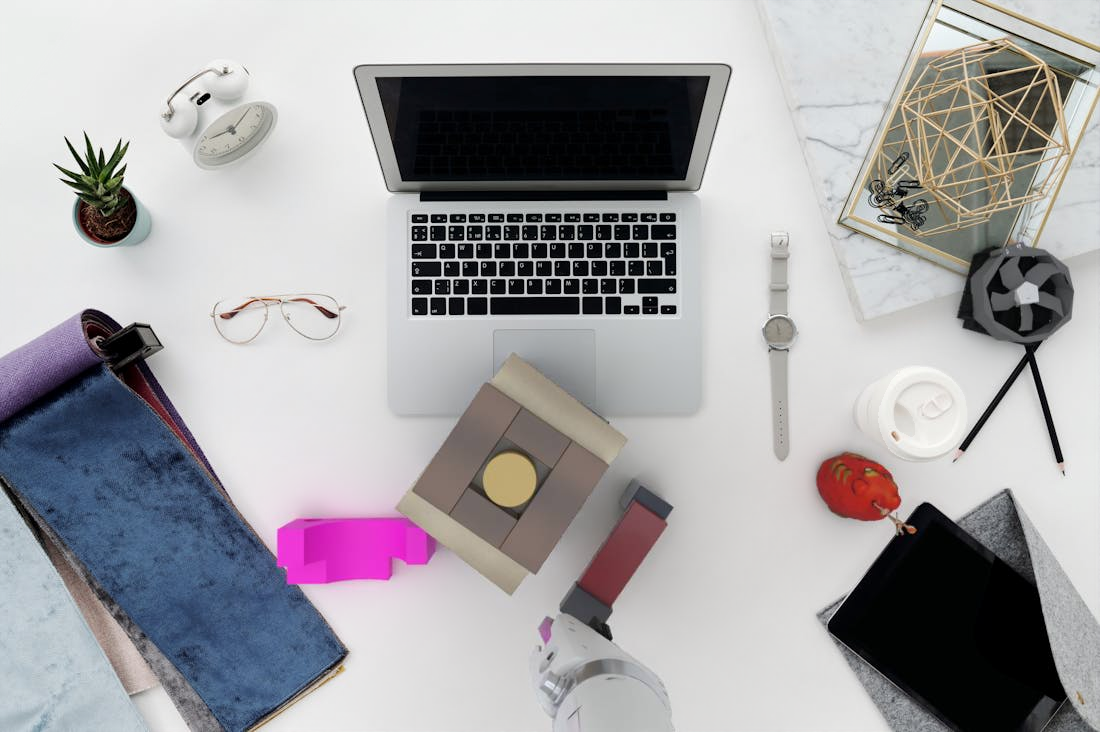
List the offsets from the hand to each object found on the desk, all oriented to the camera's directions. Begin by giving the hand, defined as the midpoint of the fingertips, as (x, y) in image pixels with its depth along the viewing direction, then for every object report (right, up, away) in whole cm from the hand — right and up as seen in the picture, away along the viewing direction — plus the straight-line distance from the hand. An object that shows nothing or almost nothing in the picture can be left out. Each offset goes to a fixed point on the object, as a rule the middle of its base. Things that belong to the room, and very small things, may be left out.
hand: (591, 634), depth 69 cm
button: (-7, +15, -8) cm, 19 cm away
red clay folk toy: (+29, +11, +17) cm, 35 cm away
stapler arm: (+3, +4, +9) cm, 10 cm away
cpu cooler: (+47, +32, +18) cm, 59 cm away
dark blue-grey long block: (+3, +5, +17) cm, 18 cm away
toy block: (-24, +4, +17) cm, 29 cm away
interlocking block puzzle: (-7, +15, +17) cm, 23 cm away
